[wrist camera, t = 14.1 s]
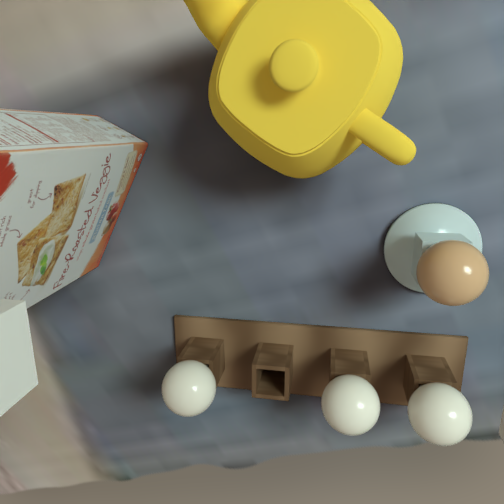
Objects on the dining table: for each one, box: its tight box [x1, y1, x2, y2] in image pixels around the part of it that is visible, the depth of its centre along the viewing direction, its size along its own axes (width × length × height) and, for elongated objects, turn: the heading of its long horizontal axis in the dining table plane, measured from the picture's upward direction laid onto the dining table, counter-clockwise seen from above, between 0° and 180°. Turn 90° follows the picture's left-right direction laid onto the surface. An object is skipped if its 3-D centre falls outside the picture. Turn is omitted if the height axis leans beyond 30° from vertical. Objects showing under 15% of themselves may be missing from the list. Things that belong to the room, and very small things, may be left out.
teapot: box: [184, 0, 416, 178], centre depth 30 cm, size 13×20×12 cm
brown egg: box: [416, 240, 489, 306], centre depth 31 cm, size 5×5×5 cm
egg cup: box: [384, 203, 482, 293], centre depth 36 cm, size 8×8×5 cm
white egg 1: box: [162, 360, 216, 417], centre depth 38 cm, size 5×5×5 cm
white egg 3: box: [408, 382, 472, 446], centre depth 35 cm, size 5×5×5 cm
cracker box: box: [0, 109, 148, 308], centre depth 32 cm, size 14×6×21 cm, turn 152°
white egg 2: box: [321, 374, 380, 436], centre depth 36 cm, size 5×5×5 cm
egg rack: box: [174, 315, 468, 406], centre depth 41 cm, size 28×8×5 cm, turn 90°
